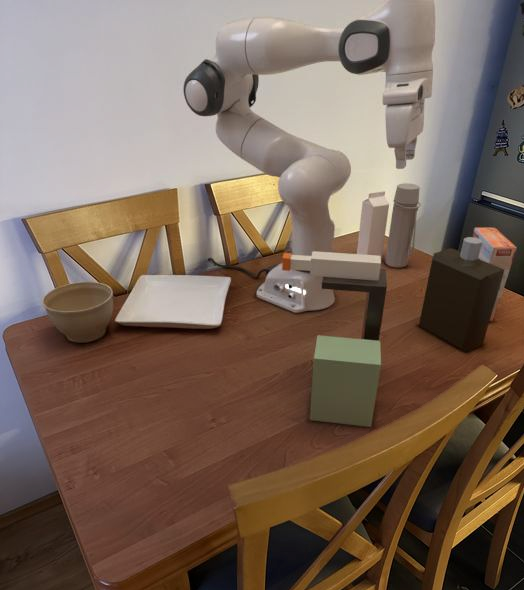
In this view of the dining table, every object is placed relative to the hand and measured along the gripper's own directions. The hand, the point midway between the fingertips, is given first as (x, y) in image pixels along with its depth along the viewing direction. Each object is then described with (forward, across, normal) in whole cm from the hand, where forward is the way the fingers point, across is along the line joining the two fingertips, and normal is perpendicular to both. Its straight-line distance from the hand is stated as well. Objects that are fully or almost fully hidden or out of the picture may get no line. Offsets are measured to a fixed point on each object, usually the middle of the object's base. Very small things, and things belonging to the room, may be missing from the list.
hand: (405, 163), depth 103 cm
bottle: (+43, -5, +12) cm, 45 cm away
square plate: (+34, +11, -58) cm, 68 cm away
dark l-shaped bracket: (+41, +23, -8) cm, 47 cm away
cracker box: (+43, -22, +16) cm, 51 cm away
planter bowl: (+33, +32, -72) cm, 85 cm away
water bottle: (+40, -42, -9) cm, 59 cm away
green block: (+41, +34, -5) cm, 54 cm away
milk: (+38, -43, -19) cm, 61 cm away
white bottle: (+15, +25, -9) cm, 31 cm away
